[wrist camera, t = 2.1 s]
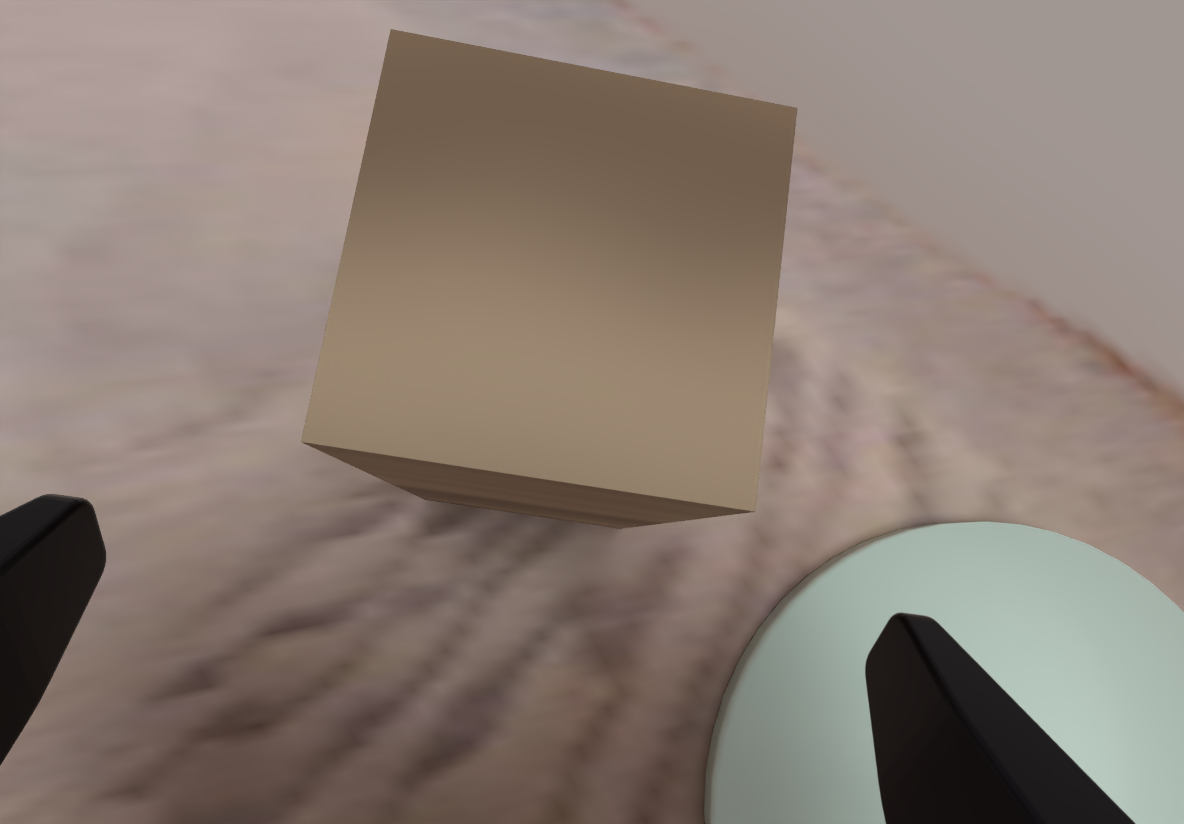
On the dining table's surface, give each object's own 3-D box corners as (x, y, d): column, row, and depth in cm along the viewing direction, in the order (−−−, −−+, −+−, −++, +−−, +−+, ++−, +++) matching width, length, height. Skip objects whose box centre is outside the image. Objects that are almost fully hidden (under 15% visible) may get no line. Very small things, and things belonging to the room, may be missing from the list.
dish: (1160, 1222, 18) (1206, 1271, 16) (614, 990, 17) (621, 1023, 16) (1288, 648, 20) (1336, 654, 19) (818, 439, 20) (836, 432, 19)
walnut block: (621, 528, 19) (755, 511, 8) (424, 498, 19) (301, 441, 8) (646, 340, 20) (796, 108, 9) (459, 309, 20) (390, 28, 9)
